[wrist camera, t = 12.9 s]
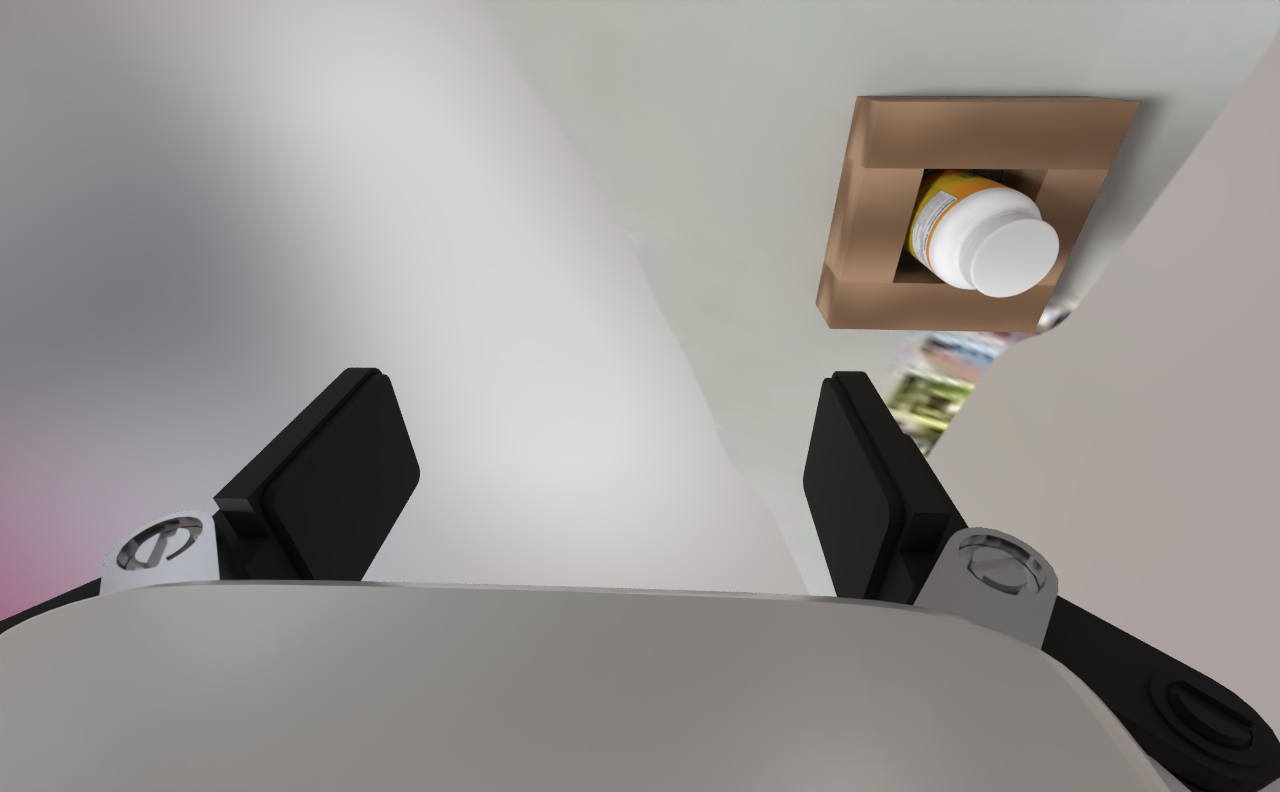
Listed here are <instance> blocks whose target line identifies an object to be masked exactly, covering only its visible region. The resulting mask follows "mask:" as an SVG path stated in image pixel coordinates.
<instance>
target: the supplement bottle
mask: <svg viewBox="0 0 1280 792" xmlns="http://www.w3.org/2000/svg"><path fill="white" fill-rule="evenodd" d="M903 248H905V249H906V250H907V251H908V252H909V253H910V254H911V255H913V256H914V257H915V258H916V259H918V260H919V261H920V262H921V263H922V264H923V265H925V266H926V267H927V268H928V269H929V270H931V271H932V272H933V273H934V274H935V275H936V276H938V277H939V278H940V279H942V280H943V281H945V282H946V283H948V284H950V285H952V286H954V287H957V288H961V289H969V290H974V289H977V290H978V291H980V292H981V293H983V294H985V295H988V296H991V297H1009V296H1014V295H1017V294H1020V293H1022V292H1024V291H1026V290H1028V289H1030V288H1032V287H1033V286H1034V285H1036V284H1037V283H1038V282H1040V281H1041V280H1042V279H1043V278H1044V277H1045V276H1046V275H1047V274H1048V272H1049V271H1050V270H1051V268H1052V267H1053V265H1054V263H1055V261H1056V259H1057V255H1058V252H1059V239H1058V235H1057V233H1056V231H1055V230H1054V228H1053V227H1052V226H1051V225H1049V224H1048V223H1046V222H1045V221H1043V220H1042V218H1041V215H1040V211H1039V209H1038V207H1037V206H1036V204H1035V203H1034V202H1033V201H1032V200H1031V199H1030V198H1029V197H1027V196H1026V195H1024V194H1023V193H1021V192H1019V191H1017V190H1014V189H1012V188H1009V187H1007V186H1004V185H1002V184H999V183H997V182H995V181H992V180H990V179H987V178H984V177H982V176H980V175H977V174H974V173H972V172H969V171H967V170H964V169H931V170H928V171H926V172H924V173H923V176H922V179H921V183H920V186H919V190H918V193H917V197H916V201H915V204H914V208H913V211H912V215H911V218H910V222H909V226H908V229H907V233H906V236H905V240H904V243H903Z"/></svg>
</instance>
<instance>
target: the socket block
mask: <svg viewBox="0 0 1280 792" xmlns="http://www.w3.org/2000/svg"><path fill="white" fill-rule="evenodd" d="M1139 104H1140V102H1135V101H1126V100H1116V99H1107V98H1098V97H1088V96H857V99H856V104H855V109H854V114H853V119H852V124H851V129H850V134H849V139H848V144H847V149H846V154H845V159H844V164H843V169H842V174H841V179H840V184H839V189H838V194H837V199H836V204H835V209H834V214H833V219H832V224H831V229H830V235H829V240H828V245H827V250H826V255H825V260H824V265H823V270H822V275H821V280H820V285H819V290H818V295H817V300H816V305H817V307H818V309H819V311H820V312H821V314H822V316H823V318H824V319H825V321H826V323H827V324H828V326H829V328H830V329H880V330H932V331H985V332H1034V330H1035V328H1036V326H1037V324H1038V322H1039V320H1040V317H1041V315H1042V313H1043V311H1044V309H1045V307H1046V304H1047V302H1048V300H1049V298H1050V296H1051V294H1052V292H1053V289H1054V287H1055V285H1056V283H1057V281H1058V279H1059V276H1060V274H1061V272H1062V270H1063V268H1064V266H1065V264H1066V261H1067V259H1068V257H1069V255H1070V253H1071V251H1072V248H1073V246H1074V244H1075V242H1076V240H1077V238H1078V236H1079V233H1080V231H1081V229H1082V227H1083V225H1084V223H1085V220H1086V218H1087V216H1088V214H1089V212H1090V210H1091V208H1092V205H1093V203H1094V201H1095V199H1096V197H1097V195H1098V193H1099V190H1100V188H1101V186H1102V184H1103V182H1104V180H1105V177H1106V175H1107V173H1108V171H1109V169H1110V167H1111V165H1112V162H1113V160H1114V158H1115V156H1116V154H1117V152H1118V149H1119V147H1120V145H1121V143H1122V141H1123V139H1124V137H1125V134H1126V132H1127V130H1128V128H1129V126H1130V124H1131V121H1132V119H1133V117H1134V115H1135V113H1136V111H1137V109H1138V106H1139ZM924 169H1004V170H1003V173H1002V176H1001V179H1000V182H999V184H1002V185H1004V186H1007V187H1009V188H1012V189H1014V190H1017V191H1019V192H1021V193H1023V194H1024V195H1026V196H1027V197H1029V198H1030V199H1031V200H1032V201H1033V202H1034V203H1035V204H1036V206H1037V207H1038V209H1039V211H1040V215H1041V218H1042V220H1043V221H1045V222H1046V223H1048V224H1049V225H1051V226H1052V227H1053V228H1054V230H1055V231H1056V233H1057V235H1058V239H1059V252H1058V255H1057V259H1056V261H1055V263H1054V265H1053V267H1052V268H1051V270H1050V271H1049V272H1048V274H1047V275H1046V276H1045V277H1044V278H1043V279H1042V280H1041V281H1040V282H1038V283H1037V284H1036V285H1034V286H1033V287H1032V288H1030V289H1028V290H1026V291H1024V292H1022V293H1020V294H1017V295H1014V296H1009V297H991V296H988V295H985V294H983V293H981V292H980V291H978V290H977V289H974V290H969V289H961V288H957V287H954V286H952V285H950V284H948V283H946V282H945V281H943V280H942V279H940V278H939V277H938V276H936V275H935V274H934V273H933V272H932V271H931V270H929V269H928V268H927V267H926V266H925V265H923V264H922V263H921V262H898V261H899V258H900V254H901V251H902V247H903V243H904V240H905V236H906V233H907V229H908V226H909V222H910V218H911V215H912V211H913V208H914V204H915V201H916V197H917V193H918V190H919V186H920V183H921V179H922V176H923V172H924Z"/></svg>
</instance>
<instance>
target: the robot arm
mask: <svg viewBox="0 0 1280 792" xmlns="http://www.w3.org/2000/svg"><path fill="white" fill-rule="evenodd" d="M419 478H420V469H419V465H418V462H417V459H416V456H415V453H414V450H413V447H412V444H411V441H410V438H409V435H408V432H407V429H406V426H405V423H404V420H403V417H402V414H401V411H400V408H399V405H398V402H397V399H396V396H395V393H394V390H393V387H392V384H391V381H390V379H389V377H388V376H387V375H384V374H382V373H381V371H380V370H379V369H377V368H347V369H346V370H344V371H343V372H342V373H341V374H340V375H339V376H338V377H337V378H336V379H335V380H334V381H333V382H332V383H331V384H330V385H329V386H328V387H327V388H326V389H325V390H324V391H323V392H322V393H321V394H320V395H319V396H318V397H317V398H315V399H314V400H313V402H311V404H309V405H308V406H307V407H306V408H305V409H304V410H303V411H302V412H301V413H300V414H299V415H298V416H297V417H296V418H295V419H294V420H293V421H292V422H291V423H290V424H289V425H288V426H287V427H286V428H285V429H284V430H282V432H281V433H279V435H277V436H276V437H275V438H274V439H273V440H272V441H271V442H270V443H269V444H268V445H267V446H266V447H265V448H264V449H263V450H262V451H261V452H260V453H259V454H258V455H257V456H256V457H255V458H254V459H253V460H252V461H251V462H250V463H248V465H246V466H245V467H244V468H243V469H242V470H241V471H240V472H239V473H238V474H237V475H236V476H235V477H234V478H233V479H232V480H231V481H230V482H229V483H228V484H227V485H226V486H225V487H224V488H223V489H222V490H221V491H220V492H219V493H218V494H217V495H216V496H214V497H213V499H214V500H215V502H216V503H217V505H218V507H219V508H220V509H219V510H218V511H217V512H216V513H215V514H214V515H213V516H211V515H210V514H208V513H206V512H204V511H198V510H188V511H181V512H175V513H172V514H169V515H165V516H162V517H160V518H157V519H155V520H153V521H150V522H148V523H146V524H144V525H142V526H141V527H139V528H137V529H136V530H134V531H133V532H131V533H129V534H128V535H127V536H126V537H124V538H123V539H122V540H121V541H119V542H118V543H117V544H116V545H115V546H114V547H113V549H112V550H111V551H110V552H109V553H108V555H107V557H106V559H105V562H104V564H103V571H102V577H101V578H98V579H96V580H94V581H91V582H89V583H87V584H85V585H83V586H81V587H78V588H75V589H73V590H71V591H69V592H66V593H64V594H62V595H60V596H57V597H55V598H53V599H50V600H48V601H46V602H44V603H41V604H39V605H37V606H34V607H32V608H30V609H27V610H25V611H23V612H21V613H18V614H16V615H14V616H12V617H9V618H7V619H5V620H2V621H0V792H1280V742H1279V741H1278V739H1277V737H1276V736H1275V734H1274V732H1273V730H1272V729H1271V728H1270V727H1269V726H1268V724H1267V723H1266V722H1265V721H1264V720H1263V719H1262V718H1261V717H1260V715H1259V714H1258V713H1257V712H1256V711H1255V710H1254V709H1253V708H1252V707H1250V706H1249V705H1248V704H1247V703H1246V702H1244V701H1243V700H1242V699H1241V698H1240V697H1238V696H1237V695H1236V694H1235V693H1233V692H1232V691H1230V690H1229V689H1227V688H1226V687H1224V686H1222V685H1221V684H1219V683H1218V682H1216V681H1215V680H1213V679H1211V678H1209V677H1208V676H1206V675H1204V674H1202V673H1200V672H1198V671H1197V670H1195V669H1193V668H1191V667H1189V666H1187V665H1185V664H1184V663H1182V662H1180V661H1178V660H1176V659H1174V658H1173V657H1170V656H1169V655H1167V654H1165V653H1163V652H1161V651H1160V650H1158V649H1156V648H1154V647H1152V646H1150V645H1148V644H1147V643H1145V642H1143V641H1141V640H1139V639H1137V638H1136V637H1134V636H1131V635H1130V634H1128V633H1126V632H1124V631H1123V630H1121V629H1119V628H1117V627H1115V626H1113V625H1111V624H1110V623H1108V622H1106V621H1104V620H1102V619H1100V618H1098V617H1097V616H1095V615H1093V614H1091V613H1089V612H1087V611H1086V610H1084V609H1082V608H1080V607H1078V606H1076V605H1074V604H1073V603H1071V602H1069V601H1067V600H1065V599H1063V598H1062V597H1060V596H1058V595H1057V593H1058V578H1057V576H1056V574H1055V572H1054V570H1053V568H1052V566H1051V565H1050V564H1049V563H1048V562H1047V561H1046V559H1045V558H1044V557H1043V556H1042V555H1041V554H1040V553H1039V552H1037V551H1036V550H1035V549H1033V548H1032V547H1031V546H1030V545H1028V544H1027V543H1025V542H1023V541H1021V540H1019V539H1017V538H1016V537H1014V536H1012V535H1009V534H1006V533H1003V532H1001V531H998V530H993V529H988V528H982V527H975V528H969V527H968V526H967V524H966V523H965V521H964V519H963V518H962V516H961V515H960V513H959V511H958V510H957V509H956V507H955V505H954V504H953V502H952V500H951V499H950V497H949V496H948V494H947V493H946V491H945V489H944V488H943V486H942V485H941V483H940V482H939V480H938V478H937V477H936V475H935V474H934V472H933V471H932V469H931V467H930V466H929V464H928V463H927V461H926V459H925V458H924V456H923V455H922V453H921V452H920V450H919V448H918V447H917V445H916V444H915V442H914V441H913V439H912V438H911V437H910V436H909V435H907V434H904V433H903V432H902V431H901V429H900V427H899V426H898V424H897V423H896V421H895V419H894V418H893V416H892V415H891V413H890V411H889V410H888V408H887V406H886V405H885V403H884V402H883V400H882V398H881V397H880V395H879V394H878V392H877V390H876V389H875V387H874V385H873V384H872V382H871V381H870V379H869V377H868V376H867V374H866V373H865V372H862V371H836V372H834V374H833V375H832V378H825V379H824V381H823V383H822V388H821V392H820V397H819V402H818V407H817V412H816V417H815V421H814V426H813V431H812V436H811V441H810V446H809V451H808V455H807V460H806V465H805V470H804V476H803V486H804V492H805V495H806V498H807V501H808V505H809V508H810V511H811V514H812V518H813V521H814V524H815V527H816V530H817V534H818V537H819V540H820V543H821V547H822V550H823V553H824V556H825V559H826V563H827V566H828V569H829V572H830V576H831V579H832V582H833V585H834V588H835V592H836V595H837V597H828V596H810V595H789V594H766V593H747V592H716V591H688V590H660V589H630V588H628V589H627V588H599V587H597V588H596V587H565V586H564V587H563V586H562V587H561V586H530V585H527V586H526V585H495V584H494V585H493V584H492V585H491V584H459V583H417V582H415V583H413V582H373V581H370V582H369V581H361V580H362V578H363V576H364V575H365V573H366V571H367V570H368V568H369V566H370V565H371V563H372V561H373V559H374V558H375V556H376V554H377V553H378V551H379V549H380V547H381V546H382V544H383V542H384V541H385V539H386V537H387V535H388V534H389V532H390V530H391V528H392V527H393V525H394V524H395V522H396V520H397V518H398V517H399V515H400V513H401V512H402V510H403V508H404V507H405V505H406V503H407V501H408V500H409V498H410V496H411V495H412V493H413V491H414V489H415V488H416V486H417V484H418V482H419Z"/></svg>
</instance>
